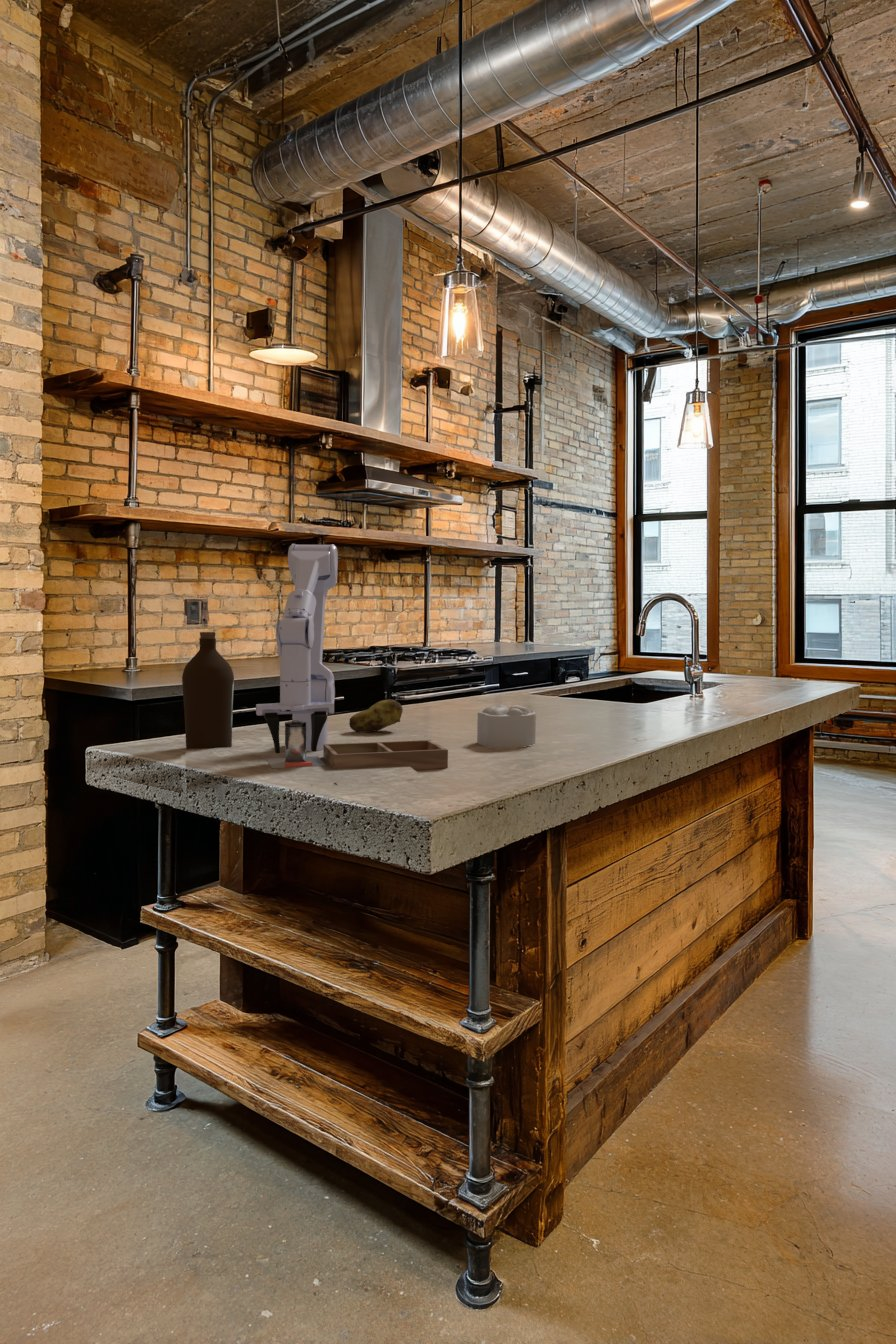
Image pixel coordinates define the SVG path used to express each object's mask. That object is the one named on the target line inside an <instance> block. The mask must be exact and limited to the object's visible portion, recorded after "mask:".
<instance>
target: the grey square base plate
mask: <svg viewBox="0 0 896 1344" xmlns="http://www.w3.org/2000/svg"><path fill="white" fill-rule="evenodd" d="M266 760H267V762H268V764H269V766H270V767H271V769H289V768H307V767H309V768H310V767H327V765H326V763H324V761H323V760H322V759H321V758H320V757H319V756H314V755H313V756H306V762H286V763H285V757H273V758H270V757H269V758H266Z"/></svg>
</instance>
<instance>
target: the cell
mask: <svg viewBox="0 0 896 1344" xmlns="http://www.w3.org/2000/svg"><path fill="white" fill-rule="evenodd" d="M306 757H307V751H306V722H303V721H299V720H293V719H292V720H290V721H285V722H284V758H285V763H286V762H306Z"/></svg>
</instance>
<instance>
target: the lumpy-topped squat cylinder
mask: <svg viewBox="0 0 896 1344" xmlns="http://www.w3.org/2000/svg"><path fill="white" fill-rule="evenodd" d="M476 722H477V723H476V724H477V726H476V727H477V730H476V733H477V735H476V744H477V743H478V745H480V744H481V746H483V745H484V746H483V747H485V748H488V749H515V748H514V747H521V748H525V747H524V746H529V745H533V744H535V745H536V737H537V735H536V734H537V733H536V729H537V728H536V727H537V713H536V712H535V711H534V710H531V711H530V709H529V708H528V707H526V706H521V705H517V704H516V705H515V704H514V705H512V706H510V707H509V708H508V707H507V706H506V705H504V704H497V705H495V706H487V707H485V708H483V710H480V711H478V712H477V721H476ZM533 746H534V745H533ZM529 747H530V746H529Z"/></svg>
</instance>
